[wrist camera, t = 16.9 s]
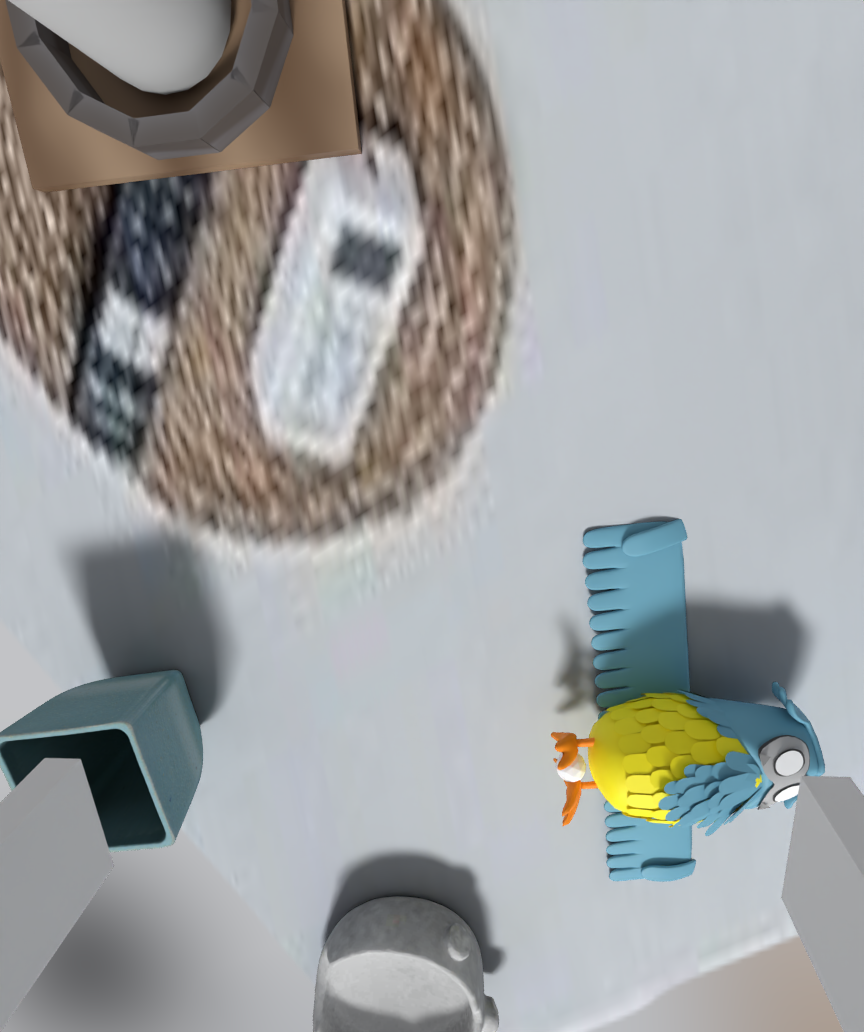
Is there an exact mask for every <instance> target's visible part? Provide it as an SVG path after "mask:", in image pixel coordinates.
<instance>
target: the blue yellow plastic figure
mask: <svg viewBox="0 0 864 1032" xmlns="http://www.w3.org/2000/svg"><path fill="white" fill-rule="evenodd" d="M686 539H687V533H686V530H685V527H684V524H683V522H682V520H681V519H677V520H674V521H671V522H665V521H662V522H645V523H636V524H627V525H619V526H611V527H603V528H598V529H594V530H591V531H589V532H587V533H586V534H585V535H584V537H583V543H584V545H585V546H586V547H589V548H600V547H612V546H615V547H612V548H608V549H602V550H597V551H592V552H589V553H587V554H586V555H584V557H583V564H584V566H585V567H586V568H588V569H604V568H613V569H609V570H603V571H599V572H594V573H592V574H589V575H588V576H587V577H586V580H585V584H586V586H587V588H588V589H591V590H604V589H615V590H611V591H606V592H601V593H597V594H594V595H592V596H591V597H589V599H588V603H587V604H588V607H589V608H590V609H591V610H594V611H603V610H613V609H619V610H615V611H611V612H605V613H601V614H597V615H595V616H593V617H592V618H591V619H590V622H589V624H590V627H591V628H592V629H593V630H597V631H603V630H613V629H620V630H616V631H611V632H606V633H602V634H599V635H596V636H595V637H593V639H592V641H591V644H592V647H593V648H594V649H596V650H612V649H621V650H617V651H612V652H607V653H603V654H600V655H597V656H596V657H595V658H594V660H593V665H594V667H595V668H596V669H598V670H610V669H616V670H612V671H607V672H603V673H601V674H599V675H597V676H596V678H595V684H596V686H597V687H599V688H604V689H607V688H618V687H624V688H620V689H615V690H610V691H605V692H602V693H600V694H599V695H598V696H597V699H596V701H597V704H598V705H599V706H601V707H606V708H608V707H610V708H608V709H607V710H604V711H602V712H601V713H600V714H599V716H598V721H597V722H596V723H595V724H594V725H593V727H592V729H591V732H590V734H589V738H587V739H576V735H575V734H573V733H563V732H562V733H556V732H553V733H551V736H552V737H553V738H554V739H555V740H556V741H558V742H557V743H556V745H555V749H556V750H557V751H559V752H562V753H561V754H560V756H559V758H558V759H555V758H554V759H553V760H554V761H555V763H556V769H557V772H558V774H559V776H560V777H561V778H562V779H564V782H565V784H566V786H567V790H566V795H567V801H566V803H565V806H564V808H563V811H562V816H564V815H565V817H564V820H563V826H564V825H567V824H569V823H570V821H571V820H572V818H573V816H574V814H575V812H576V809H577V806H578V803H579V799H580V796H581V789H591V788H599V790H600V791H601V793H602V794H603V796H604V797H605V798H606V800H607V801H606V803H605V804H604V808H605V810H606V811H608V812H620V813H616V814H612V815H609V816H608V817H606V819H605V824H606V825H607V826H608V827H621V828H616V829H613V830H610V831H608V832H607V834H606V839H607V840H608V841H610V842H617V841H622V842H618V843H614V844H611V845H609V846H608V847H607V849H606V851H607V853H608V854H611V855H616V856H613V857H610V858H609V859H608V860H607V862H606V863H607V866H608V867H610V868H618V869H614V870H613V871H612V872H611V873H610V874H609V878H610V879H611V880H613V881H626V880H634V879H644V878H645V879H647V880H651V881H662V882H664V881H674V880H678V879H682V878H684V877H687V876H689V875H691V874H692V873H693V871H694V867H695V864H696V860H692V861H690V860H691V849H692V825H693V824H695V823H698V822H701V821H702V822H701V823H700V824H699V825H698V826H697V828H701V827H706V826H708V825H710V824H712V823H713V822H714V823H713V824H712V825H711V826H710V828H709V829H708V830H707V831H706V833H705V835H706V836H709V835H711V834H712V833H714V832H715V831H716V830H717V829H718V828H719V827H720V826H721V825H722V824H723V823H724V822H725V821H726V819H727V818H728V817H729V816H730V815H731V814H733V813H734V812H735V813H734V814H733V815H732V816H731V817H730V818H729V819H728V820H727V821H726V822H725V824H727V823H728V822H729V821H730V822H731V821H733V820H734V819H735V818H736V817H737V816H738V815H739V814H740V813H741V812H742V811H743V810H744V809H752V808H755V807H758V806H759V807H758V810H759V809H765V808H770V807H769V806H771V805H773V804H775V803H777V802H779V801H780V802H782V801H784V805H785V807H786V808H787V809H789V808H791V807H792V805H793V803H794V802H795V801H796V800H797V797H798V791H799V785H800V778H801V776H821V775H822V774H823V773H824V772H825V764H824V759H823V755H822V751H821V748H820V745H819V742H818V738H817V736H816V734H815V732H814V730H813V727H812V725H811V723H810V721H809V720H808V719H807V717H806V716H805V715H804V714H803V713H802V711H801V710H800V709H799V708H798V707H797V706H796V705H795V704H794V703H793V702H792V700H788V699H787V695H786V691H785V689H784V688H783V687H780V686H779V683H777V682H773V684H772V692H773V694H774V695H775V696H776V697H777V698H778V699H779V700H780V701H781V702H782V703H783V705H784V706H785V708H786V709H784V708H780V707H774V706H768V705H762V704H754V703H746V702H738V701H731V700H724V699H716V698H707V697H703V696H700V695H697V694H694V693H691V692H690V682H689V660H688V643H687V626H686V603H685V580H684V558H683V551H682V543H681V542H682V541H684V540H686ZM616 588H618V589H616ZM618 668H621V669H618ZM577 747H588V760H589V767H590V771H591V774H592V777H593V779H594V781H591V782H581V781H580V780H581V779H582V777H583V775H584V774H585V770H586V764H585V762H584V760H583V757H582V756H580V755H579V754H578V748H577ZM621 811H622V812H621ZM730 822H729V823H730ZM725 824H724V825H725ZM623 826H625V827H623ZM626 840H627V841H626ZM617 854H620V855H617Z"/></svg>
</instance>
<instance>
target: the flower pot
mask: <svg viewBox="0 0 864 1032" xmlns="http://www.w3.org/2000/svg"><path fill="white" fill-rule="evenodd" d="M44 758H65V759H81V761H82V765H83V768H84V771H85V774H86V777H87V781H88V784H89V787H90V790H91V794H92V797H93V800H94V803H95V806H96V810H97V813H98V816H99V819H100V822H101V826H102V829H103V832H104V835H105V839H106V842H107V845H108V848H109V851H110V852H119V851H129V850H131V851H132V850H140V849H153V848H163V847H168V846H171V845H173V844H174V842H175V840H176V837H177V835H178V832H179V830H180V828H181V826H182V823H183V821H184V818H185V816H186V814H187V811H188V809H189V806H190V804H191V801H192V799H193V796H194V794H195V791H196V789H197V786H198V783H199V780H200V777H201V772H202V765H203V744H202V736H201V729H200V725H199V722H198V719H197V716H196V713H195V711H194V708H193V705H192V702H191V699H190V696H189V693H188V690H187V687H186V684H185V681H184V678H183V675H182V674H181V672H180V671H178V670H168V671H161V672H153V673H146V674H138V675H129V676H122V677H116V678H110V679H104V680H99V681H94V682H91V683H87V684H84V685H81V686H78V687H75V688H73V689H70V690H68V691H65V692H63V693H61V694H59V695H57V696H55V697H54V698H52V699H50V700H49V701H47V702H45V703H44V704H42V705H41V706H39V707H38V708H36V709H35V710H33V711H32V712H30V713H29V714H27V715H26V716H24V717H23V718H21V719H20V720H18V721H17V722H15V723H14V724H12V725H11V726H9V727H8V728H6V729H5V730H3V731H2V732H0V768H1V769H2V771H3V773H4V775H5V777H6V780H7V781H8V784H9V786H10V788H11V790H13V789H14V788H15V787H16V786H17V785H18V784H19V783H20V782H21V781H22V780H23V779H24V778H25V777H26V776H27V775H28V774H29V773H30V772H31V771H32V770H33V769H34V768H35V767H36V766H37V765H38V764H39V763H40V762H41V761H42V760H43V759H44Z"/></svg>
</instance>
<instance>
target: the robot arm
mask: <svg viewBox="0 0 864 1032" xmlns="http://www.w3.org/2000/svg"><path fill="white" fill-rule="evenodd" d="M113 867H114V864H113V861H112V858H111V855H110V851H109V848H108V845H107V842H106V839H105V835H104V832H103V829H102V826H101V822H100V819H99V816H98V813H97V810H96V806H95V803H94V800H93V797H92V794H91V790H90V787H89V784H88V781H87V777H86V774H85V771H84V768H83V765H82V761H81V759H65V758H44V759H43V760H42V761H41V762H40V763H39V764H38V765H37V766H36V767H35V768H34V769H33V770H32V771H31V772H30V773H29V774H28V775H27V776H26V777H25V778H24V779H23V780H22V781H21V782H20V783H19V784H18V785H17V786H16V787H15V788H14V789H13V790H12V791H11V792H10V793H9V794H8V795H7V797H5V798H4V800H2V802H0V1032H1V1031H2V1029H3V1028H4V1026H5V1025H6V1023H7V1022H8V1020H9V1019H10V1018H11V1016H12V1015H13V1013H14V1012H15V1010H16V1009H17V1007H18V1006H19V1005H20V1003H21V1002H22V1000H23V999H24V997H25V996H26V994H27V993H28V991H29V990H30V988H31V987H32V986H33V984H34V983H35V981H36V980H37V978H38V977H39V975H40V974H41V972H42V971H43V969H44V968H45V967H46V965H47V964H48V962H49V961H50V959H51V958H52V956H53V955H54V953H55V952H56V950H57V949H58V947H59V946H60V945H61V943H62V942H63V940H64V939H65V937H66V936H67V934H68V933H69V931H70V930H71V929H72V927H73V926H74V924H75V923H76V921H77V920H78V918H79V917H80V915H81V914H82V912H83V911H84V909H85V908H86V907H87V905H88V904H89V902H90V901H91V899H92V898H93V896H94V895H95V893H96V892H97V891H98V889H99V888H100V886H101V885H102V883H103V882H104V880H105V879H106V877H107V876H108V874H109V873H110V871H111V870H112V869H113ZM781 898H782V900H783V902H784V904H785V906H786V909H787V911H788V913H789V915H790V917H791V919H792V921H793V924H794V926H795V928H796V930H797V932H798V934H799V937H800V939H801V941H802V943H803V945H804V947H805V949H806V952H807V954H808V956H809V958H810V960H811V962H812V964H813V966H814V968H815V971H816V973H817V975H818V977H819V980H820V982H821V984H822V986H823V988H824V990H825V992H826V995H827V997H828V999H829V1001H830V1003H831V1005H832V1008H833V1010H834V1012H835V1014H836V1016H837V1018H838V1020H839V1023H840V1025H841V1027H842V1029H843V1031H844V1032H864V796H863V794H862V793H861V792H860V790H859V789H858V787H857V786H856V785H855V783H854V782H853V781H852V779H851V778H850V777H825V776H801V778H800V785H799V791H798V797H797V803H796V810H795V816H794V822H793V828H792V835H791V841H790V847H789V853H788V859H787V866H786V872H785V878H784V884H783V891H782V897H781Z"/></svg>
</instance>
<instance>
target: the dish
mask: <svg viewBox="0 0 864 1032" xmlns="http://www.w3.org/2000/svg"><path fill="white" fill-rule="evenodd" d="M498 1025H499V1016H498V1010H497V1007H496V1004H495V1002H494V999H493V998H492V997H489V996H486V995H485V994H484V979H483V964H482V957H481V952H480V948H479V945H478V942H477V940H476V938H475V935H474V934H473V932H472V930H471V929H470V927H469V926H468V925H467V924H466V923H465V921H464V920H463V919H461V918H460V917H459V916H458V915H457V914H456V913H454V912H453V911H451V910H450V909H448V908H446V907H444V906H442V905H439V904H437V903H434V902H432V901H429V900H425V899H420V898H413V897H385V898H378V899H374V900H371V901H368V902H366V903H364V904H362V905H360V906H357V907H356V908H354V909H353V910H351V911H350V912H348V913H347V914H346V915H345V916H344V917H343V918H342V919H341V920H340V921H339V922H338V923H337V925H336V926H335V927H334V929H333V930H332V932H331V934H330V935H329V937H328V939H327V941H326V943H325V945H324V947H323V950H322V953H321V956H320V960H319V965H318V971H317V979H316V987H315V1001H314V1012H313V1032H482V1031H483V1032H496V1031H497V1029H498Z"/></svg>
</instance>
